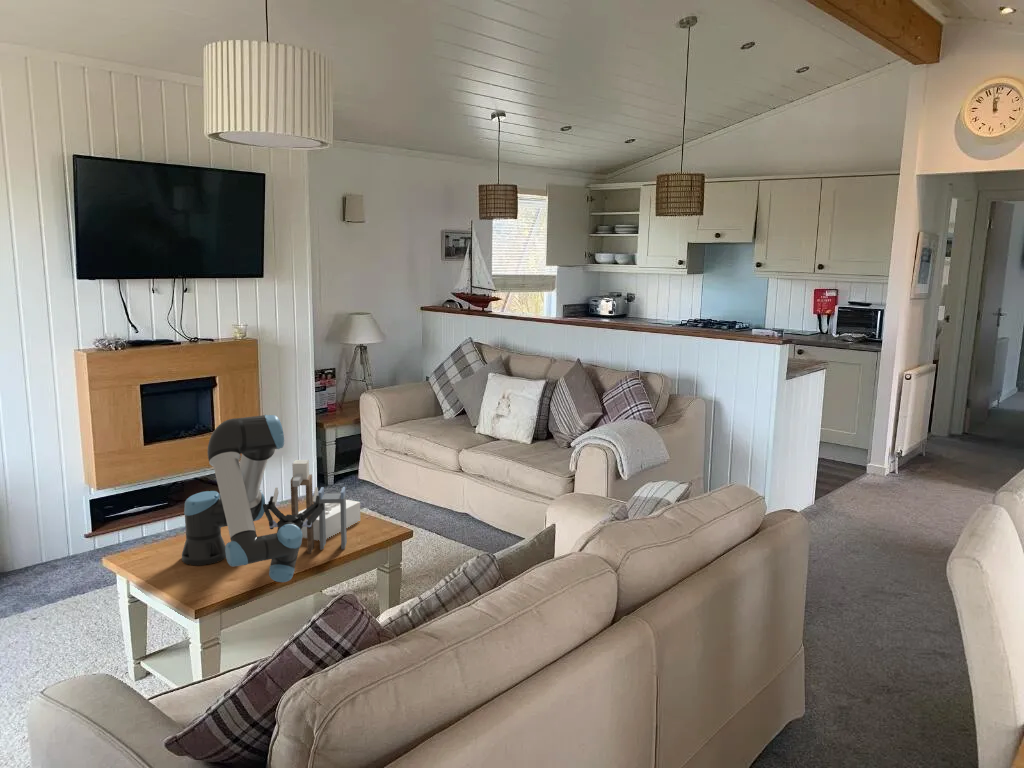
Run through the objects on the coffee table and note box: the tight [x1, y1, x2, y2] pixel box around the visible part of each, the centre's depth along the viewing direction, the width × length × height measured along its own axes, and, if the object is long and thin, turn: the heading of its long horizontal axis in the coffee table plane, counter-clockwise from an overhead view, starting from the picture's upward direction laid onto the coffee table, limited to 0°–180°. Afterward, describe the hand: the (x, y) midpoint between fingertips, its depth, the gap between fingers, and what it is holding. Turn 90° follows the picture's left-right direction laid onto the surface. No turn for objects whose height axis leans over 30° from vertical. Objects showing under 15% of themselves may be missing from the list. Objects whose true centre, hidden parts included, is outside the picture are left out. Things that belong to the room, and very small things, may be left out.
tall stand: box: [290, 474, 315, 555], centre depth 283 cm, size 6×7×28 cm
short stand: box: [318, 486, 348, 551], centre depth 288 cm, size 9×7×22 cm
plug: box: [291, 459, 310, 487], centre depth 276 cm, size 5×14×6 cm, turn 6°
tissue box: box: [298, 499, 361, 542], centre depth 308 cm, size 14×25×11 cm, turn 156°
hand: (296, 489), depth 269 cm, fingers open, 13 cm apart
